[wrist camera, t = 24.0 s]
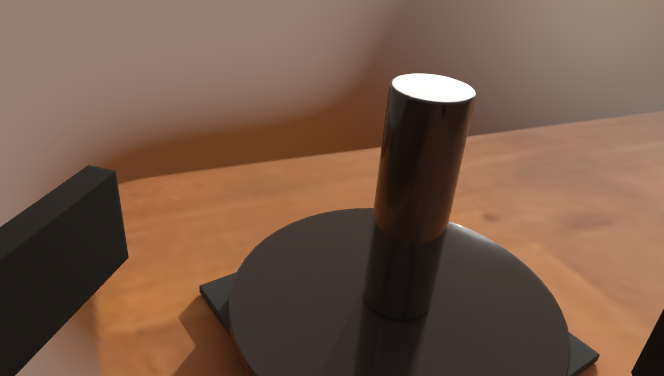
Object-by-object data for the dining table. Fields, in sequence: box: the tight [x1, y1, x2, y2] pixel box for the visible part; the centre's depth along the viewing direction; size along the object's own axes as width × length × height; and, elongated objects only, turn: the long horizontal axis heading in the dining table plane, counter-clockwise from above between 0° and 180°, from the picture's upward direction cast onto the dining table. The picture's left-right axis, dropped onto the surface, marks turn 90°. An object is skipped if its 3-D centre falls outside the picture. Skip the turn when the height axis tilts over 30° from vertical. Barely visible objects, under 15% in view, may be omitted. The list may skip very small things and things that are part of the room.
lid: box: [229, 74, 571, 376], centre depth 20 cm, size 14×14×10 cm
